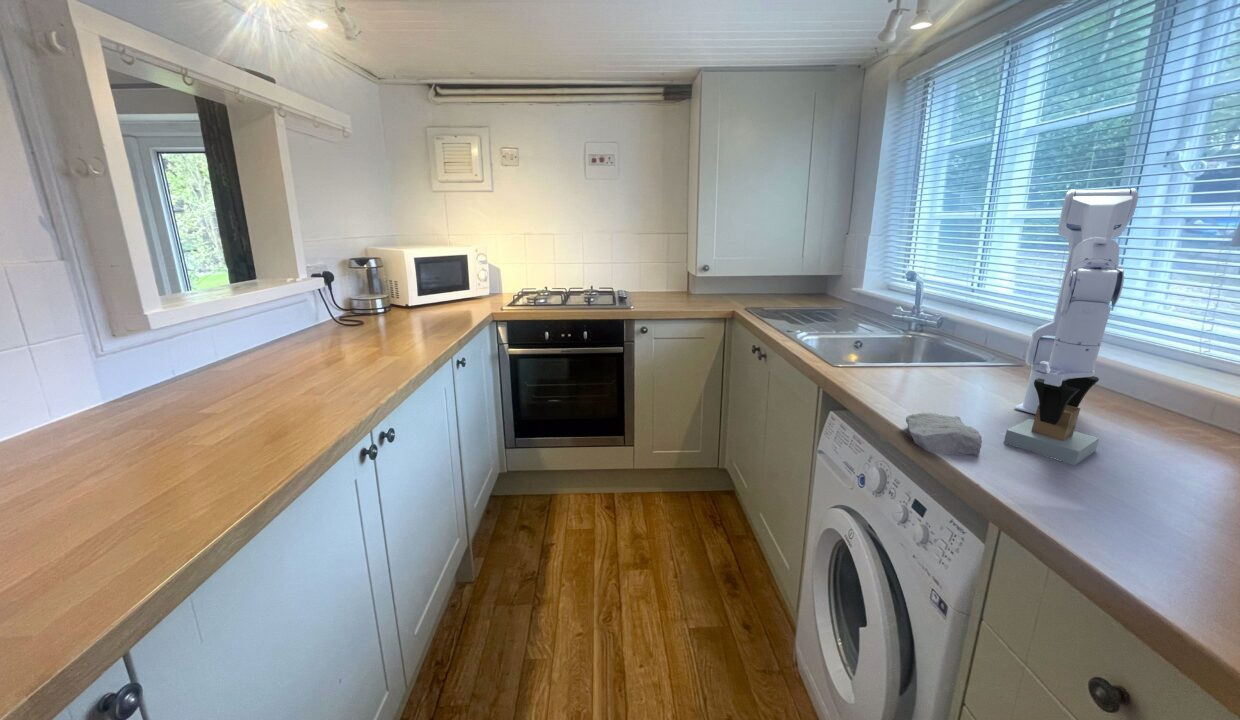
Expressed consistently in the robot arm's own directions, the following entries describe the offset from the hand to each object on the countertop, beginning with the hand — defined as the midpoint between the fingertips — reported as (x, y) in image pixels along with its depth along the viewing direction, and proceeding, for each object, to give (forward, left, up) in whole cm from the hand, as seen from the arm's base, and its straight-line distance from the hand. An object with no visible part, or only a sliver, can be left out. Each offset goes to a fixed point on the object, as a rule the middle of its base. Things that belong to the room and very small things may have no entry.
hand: (1056, 418), depth 86 cm
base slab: (0, 0, -6) cm, 6 cm away
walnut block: (0, 0, -3) cm, 3 cm away
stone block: (+14, -12, -6) cm, 20 cm away
